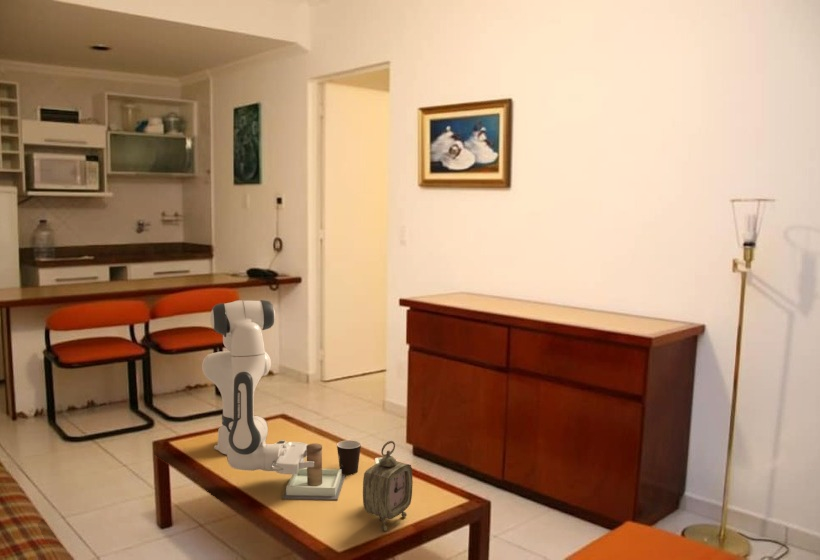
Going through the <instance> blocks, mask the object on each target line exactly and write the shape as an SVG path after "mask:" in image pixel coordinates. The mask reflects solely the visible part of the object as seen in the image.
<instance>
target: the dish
mask: <svg viewBox="0 0 820 560" xmlns="http://www.w3.org/2000/svg"><path fill="white" fill-rule="evenodd" d="M291 475H292V474H291ZM342 475H343V474H342V469H340V468H322V484H321V485H319V486H309V485H308V484H307V468H304V469H299V471H298V473H297V474H293V475H292V476H290V479H289V481H288V483H287V485H286V487H285V488H286V489H285V491H286V495H305V496H335V495H336V492H337V489H338V486H339V483H340V480H341V477H342Z"/></svg>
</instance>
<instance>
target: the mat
mask: <svg viewBox="0 0 820 560" xmlns="http://www.w3.org/2000/svg"><path fill="white" fill-rule="evenodd" d="M345 478H346V475H345V474H342V477H341V480H340V483H339V486H338V489H337V492H336V495H335V496H305V495H286V490H285V491H284V493H283V495H282V497H281V499H282V500H303V501H305V500H308V501H309V500H310V501H311V500H312V501H338V499H339V496H340V493H341V491H342V488H343V484H344V482H345V481H344V480H345Z"/></svg>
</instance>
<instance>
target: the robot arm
mask: <svg viewBox="0 0 820 560" xmlns="http://www.w3.org/2000/svg"><path fill="white" fill-rule="evenodd" d="M275 320H276V310H275V307H274V305H273V304H272V302H270V301H269V300H263V299H261V300H242V299H241V300H234V301H232V302H227V303H224V302H222V303H218V304H217V303H216V304H214V306H213V307H212V309H211V311H210V315H209V322H210V325H211V327H212V329H213V330H214V331H215V332H216V333H217V334H221V335H222V343H223V345H224V347H225V348H226V351H224V350H223V351H217V352H213V353H208V354H207V355H206V356H205V357H204V358H203V361H202V363H201V370H202V374H203V375H204V377H205V378H206V379H208V380H209V382H210V381H211V382H212V383H213V384H214V385H215V386H216V387H217V389H218V391H219V392H220V395H221V401H222V415H221V426H220V427H219V428H218V431H217V432H218V434H217V435H218V436H217V444H215V445H214V447H213V450H216V451H218V452H220V453H221V454H224V455H226V459H227V463H228V465H229V466H230V467H231V468H232V469H235V470H238V471H239V470H240V471H249V472H250V471H251V472H252V471H253V472H254V471H258V470H260V471H264V472H276V473H277V474H282V475H293V474H297V473H298V471H299V469H304V468H308V467H314V465H315V461H313V460H309V461H307V460H306V458H307V450H306V446H307V445H309V443H306V442H301V441H300V442H299V441H287V440H283V439H282V440H279V441H277V442H275V443H272V444H271V443H266V442H267V437H268V432H269V426H268V423H267V420H266V419H265V418H263V417H262V416H260V415H257V414H256V415H255V409H254V408H255V406H254V401H255V400H254V399H255V391H256V388H257V385H258V384H259V381H260V380H261V378H262V377H264V376H267V375H268V373H269V371H270V370H271V367H272V360H271V356H270V355H269V354H268V352H267V351H266V350H265V342H264V337H263V336H264V335H263V331H265V330H268V329H271V328H272V327H273V325H274V323H275Z"/></svg>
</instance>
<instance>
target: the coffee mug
mask: <svg viewBox="0 0 820 560" xmlns="http://www.w3.org/2000/svg"><path fill="white" fill-rule="evenodd" d="M361 446H362V443H361V442H360V441H358V440H352V439H347V440H342V441H338V442H337V443H336V449H337V457H338V467H339V469H342V475H345V476H346V475H348V476H349V475H350V476H351V474H352V475H355V474H357V473H358V471H359V463H360V455H361V454H360V453H361Z"/></svg>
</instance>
